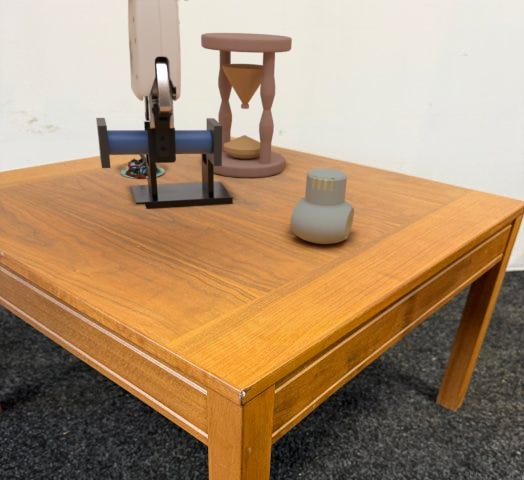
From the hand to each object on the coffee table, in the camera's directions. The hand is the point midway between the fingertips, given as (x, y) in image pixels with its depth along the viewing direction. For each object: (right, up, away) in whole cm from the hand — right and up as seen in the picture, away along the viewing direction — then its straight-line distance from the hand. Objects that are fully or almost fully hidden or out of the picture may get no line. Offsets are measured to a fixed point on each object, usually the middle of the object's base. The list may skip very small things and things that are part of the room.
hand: (160, 157), depth 69 cm
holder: (-2, +4, +31) cm, 32 cm away
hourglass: (+9, +16, +51) cm, 54 cm away
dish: (-12, +12, +45) cm, 48 cm away
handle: (0, -1, 0) cm, 1 cm away
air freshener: (+22, -7, +17) cm, 28 cm away
